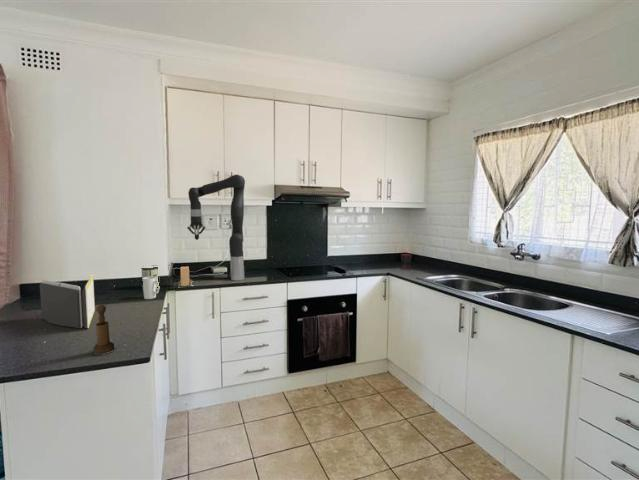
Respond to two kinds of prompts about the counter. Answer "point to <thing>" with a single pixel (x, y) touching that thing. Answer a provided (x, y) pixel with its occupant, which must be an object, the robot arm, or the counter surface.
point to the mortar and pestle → (102, 333)
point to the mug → (150, 287)
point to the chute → (190, 283)
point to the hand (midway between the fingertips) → (197, 239)
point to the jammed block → (184, 276)
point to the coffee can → (150, 273)
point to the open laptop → (67, 303)
